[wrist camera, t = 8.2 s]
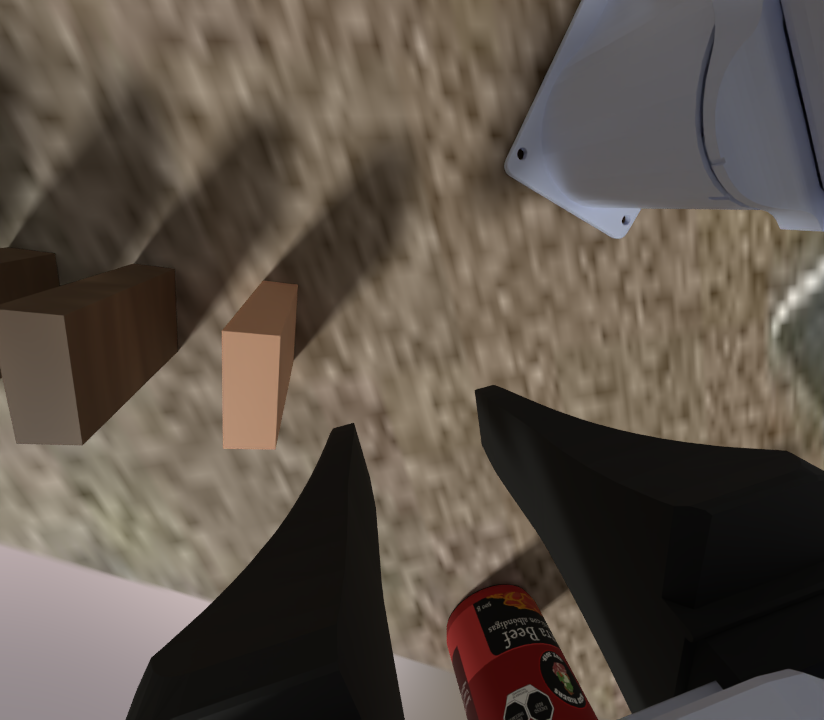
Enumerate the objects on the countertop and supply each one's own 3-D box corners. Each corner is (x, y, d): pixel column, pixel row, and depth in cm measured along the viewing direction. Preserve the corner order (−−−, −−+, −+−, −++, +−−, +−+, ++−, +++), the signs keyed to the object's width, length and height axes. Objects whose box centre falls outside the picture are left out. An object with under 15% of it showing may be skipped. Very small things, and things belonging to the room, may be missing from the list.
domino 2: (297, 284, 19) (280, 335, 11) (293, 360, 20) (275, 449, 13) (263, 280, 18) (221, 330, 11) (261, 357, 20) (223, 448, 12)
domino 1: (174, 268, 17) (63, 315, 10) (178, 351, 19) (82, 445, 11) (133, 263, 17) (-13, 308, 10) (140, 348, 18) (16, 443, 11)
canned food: (549, 591, 32) (651, 766, 22) (496, 654, 34) (568, 842, 24) (479, 571, 29) (559, 762, 19) (425, 641, 31) (473, 848, 21)
